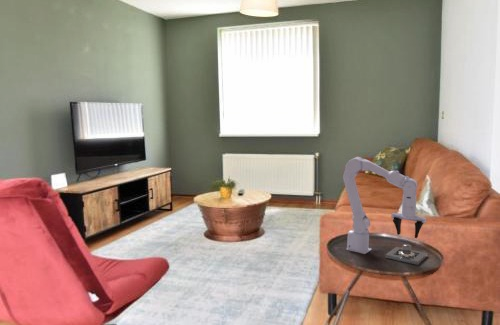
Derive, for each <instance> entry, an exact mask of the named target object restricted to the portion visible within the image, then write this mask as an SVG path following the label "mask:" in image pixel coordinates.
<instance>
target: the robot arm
mask: <svg viewBox="0 0 500 325" xmlns="http://www.w3.org/2000/svg"><path fill="white" fill-rule="evenodd" d="M367 171H369V172H373V173H374V174H377V175H379V176H381V177H383V178H385V179H386V182H387V183H389V184H390V185H391V184H392V185H393V186H395V187H397V188H400V189H401V190H402V191H403V192H402V193H403V194H402V199H401V203H402V205H401V213H399V212H398V213H397V212H396V213H395V212H392V213H391V219H392V222H393V224H394V226H395V230H396V235H397V236H399V235H401V232H402V231H401V230H402V229H401V228H402V220H405V221H411V222H414V228H415V229H414V239H417V238H418V237H419V233H420V231H421V229H422V227H423V225H424V224H425V223H427V218H426V217H423V216H418V215H416V214H417V213H416V211H417V210H416V209H417V189H418V182H417V181H416V179H414V177H413V178H412V177H410V176H408V175H404V174H401V173H400V171H399V170H391V171H389V170H387V169H386V168H383V167H381V166H380V165H378V164H376V163H374V162H372V161H370V160H368V159H366V158H364V157H361V156H355V157H354V158H351V159H349V160H348V161H347V162H346V164H345V169H344V171H343V175H342V179H343V185H344V188H345V190H346V194H347V198H348V200H349V204H350V209H351V212H352V221H353V222H352V229H350V230H349V231H348V233H347V238H346V239H347V242H346V250H347V251H350V252H355V253H359V254H362V255H363V254H364V255H365V254H367V253H369V252H371V251H372V248H371V247H369V246H370V245H369V244H370V243H369V242H370V230H369V227H370V226H371V221H370V218H368V216H367V213H366V211H365V210H364V207H363V204H362V201H361V197H360V194H359V190H358V186H357V183H356V177H357V175H358V173H359V172H367Z"/></svg>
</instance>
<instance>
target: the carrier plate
mask: <svg viewBox="0 0 500 325" xmlns="http://www.w3.org/2000/svg"><path fill="white" fill-rule="evenodd" d="M399 251H402V247H399V246H395V247H394V248H392V249H391V250H390V251H388V252H386V254H385V257H384V258H385V259H390V260H393V261H398V262H403V263H406V264H410V265H411V264H412V265H416V266H418V265H420V264H421V263H422V262H423V261H424V260H425V259H426V258H427V257H428V252H423V251H418V250H413V249H411V252H412V253H415V258H414V259H412V258H408V257H403V256H398V252H399Z"/></svg>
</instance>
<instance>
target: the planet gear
mask: <svg viewBox="0 0 500 325" xmlns="http://www.w3.org/2000/svg"><path fill="white" fill-rule="evenodd" d="M401 248H402V251H399V252H398V254H397V255H398V256H403V257H408V258H412V259H414V258H415V257H416V256H415V253H412V252H411V250H412V245H411V244H408V243H403V244H402V247H401Z"/></svg>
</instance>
